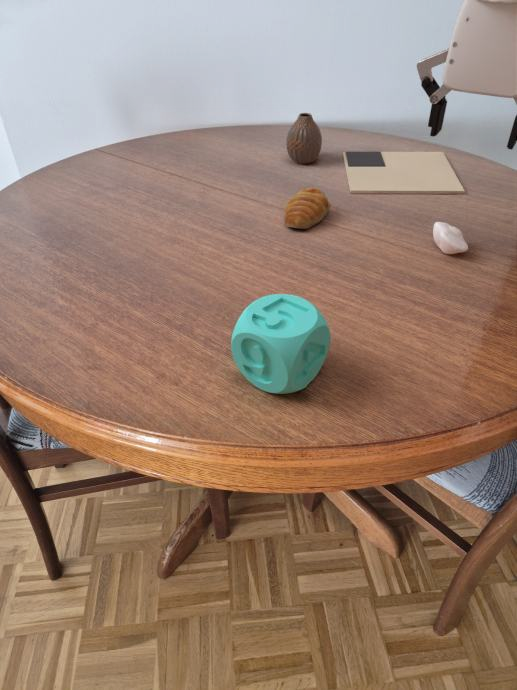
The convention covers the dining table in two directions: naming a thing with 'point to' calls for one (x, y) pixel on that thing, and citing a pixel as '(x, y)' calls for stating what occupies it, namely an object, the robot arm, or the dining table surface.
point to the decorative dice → (280, 343)
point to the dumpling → (449, 238)
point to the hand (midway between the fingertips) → (472, 139)
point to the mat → (400, 173)
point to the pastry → (306, 208)
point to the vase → (304, 140)
